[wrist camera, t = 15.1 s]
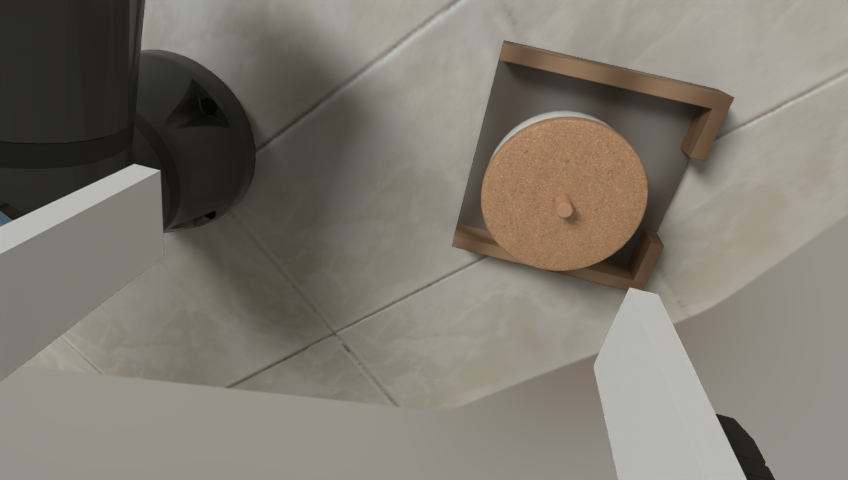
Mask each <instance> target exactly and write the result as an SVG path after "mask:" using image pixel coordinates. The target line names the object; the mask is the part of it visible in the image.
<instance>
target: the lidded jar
mask: <svg viewBox="0 0 848 480" xmlns="http://www.w3.org/2000/svg"><path fill="white" fill-rule="evenodd" d="M647 199H648V180H647V176H646V172H645V168H644V166H643V164H642V161H641V159H640V157H639V156H638V154H637V153H636V151H635V150H634V148H633V147H632V146H631V144H630V143H629V142H628V141H627V140H626V139H625V138H624V137H623V136H622V135H620V134H619V133H617V132H616V131H615V130H614V129H613V128H612V127H610V126H609V125H607V124H606V123H605V122H603V121H601V120H599V119H597V118H595V117H592V116H590V115H587V114H584V113H580V112H573V111H553V112H548V113H543V114H540V115H537V116H534V117H531V118H530V119H528V120H526V121H524V122H522V123H520V124H519V125H518V126H516V127H515V128H514V129H512V130H511V131H510V132H509V133H508V134H507V135H506V136H505V137H504V138H503V140H502V141H501V142H500V144H499V145H498V146H497V148H496V149H495V151H494V153H493V155H492V157H491V159H490V162H489V165H488V167H487V169H486V173H485V176H484V179H483V183H482V190H481V208H482V214H483V218H484V221H485V224H486V226H487V229H488V230H489V232H490V234H491V236H492V237H493V239H494V240H495V241H496V242H497V244H498V245H499V246H500V247H501V248H502V249H503V250H504V251H506V252H507V253H508V254H509V255H511V256H512V257H514V258H515V259H517V260H518V261H520V262H523V263H525V264H527V265H529V266H533V267H536V268H540V269H546V270H552V271H566V270H575V269H580V268H584V267H588V266H591V265H593V264H596V263H598V262H600V261H602V260H604V259H606V258H608V257H609V256H611V255H612V254H614V253H615V252H616V251H618V250H619V249H620V248H622V247H623V245H624V244H625V243H626V242H627V241H628V240H629V239H630V238H631V237H632V235H633V234H634V233H635V231H636V230H637V228H638V226H639V224H640V222H641V220H642V218H643V216H644V213H645V209H646V206H647Z"/></svg>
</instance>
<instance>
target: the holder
mask: <svg viewBox="0 0 848 480" xmlns="http://www.w3.org/2000/svg"><path fill="white" fill-rule="evenodd" d="M733 99H734V97H732V96H730V95H728V94H726V93H724V92H722V91H720V90H718V89H714V88H710V87H705V86H701V85H696V84H692V83H688V82H683V81H679V80H675V79H670V78H666V77H662V76H657V75H653V74H648V73H644V72H640V71H635V70H631V69H627V68H622V67H618V66H614V65H609V64H605V63H600V62H596V61H592V60H587V59H583V58H579V57H574V56H570V55H566V54H561V53H557V52H552V51H548V50H544V49H539V48H535V47H531V46H526V45H522V44H518V43H513V42H509V41H505V40H504V42H503V46H502V50H501V54H500V58H499V62H498V65H497V69H496V73H495V77H494V81H493V85H492V89H491V93H490V97H489V101H488V105H487V109H486V113H485V117H484V121H483V124H482V128H481V132H480V136H479V140H478V144H477V148H476V152H475V156H474V160H473V164H472V168H471V172H470V176H469V180H468V183H467V187H466V191H465V195H464V199H463V203H462V207H461V211H460V215H459V219H458V223H457V227H456V231H455V235H454V239H453V244H452V247H456V248H460V249H464V250H468V251H472V252H476V253H480V254H484V255H488V256H492V257H496V258H500V259H504V260H508V261H512V262H516V263H520V264H524V265H527V264H525V263H523V262H520V261H518V260H517V259H515V258H514V257H512V256H511V255H509V254H508V253H507V252H506V251H504V250H503V249H502V248H501V247H500V246H499V245H498V244H497V242H496V241H495V240H494V239H493V237H492V236H491V234H490V232H489V230H488V229H487V226H486V224H485V221H484V218H483V214H482V208H481V190H482V183H483V179H484V176H485V173H486V169H487V167H488V165H489V162H490V159H491V157H492V155H493V153H494V151H495V149H496V148H497V146H498V145H499V144H500V142H501V141H502V140H503V138H504V137H505V136H506V135H507V134H508V133H509V132H510V131H511V130H512V129H514V128H515V127H516V126H518V125H519V124H520V123H522V122H524V121H526V120H528V119H530V118H531V117H534V116H537V115H540V114H543V113H548V112H553V111H573V112H580V113H584V114H587V115H590V116H592V117H595V118H597V119H599V120H601V121H603V122H605V123H606V124H607V125H609V126H610V127H612V128H613V129H614V130H615V131H616V132H617V133H619V134H620V135H622V136H623V137H624V138H625V139H626V140H627V141H628V142H629V143H630V144H631V146H632V147H633V148H634V150H635V151H636V153H637V154H638V156H639V157H640V159H641V161H642V164H643V166H644V168H645V172H646V176H647V180H648V199H647V206H646V209H645V213H644V216H643V218H642V220H641V222H640V224H639V226H638V228H637V230H636V231H635V233H634V234H633V235H632V237H631V238H630V239H629V240H628V241H627V242H626V243H625V244H624V245H623V247H622V248H620V249H619V250H618V251H616V252H615V253H614V254H612V255H611V256H609V257H608V258H606V259H604V260H602V261H600V262H598V263H596V264H593V265H591V266H588V267H584V268H580V269H575V270H566V271H552V270H548V271H552V272H556V273H560V274H564V275H568V276H572V277H576V278H580V279H584V280H588V281H592V282H596V283H600V284H605V285H609V286H613V287H617V288H621V289H625V290H629V287H630V288H634V289H638V290H642V291H643V289H644V287H645V285H646V282H647V280H648V278H649V276H650V274H651V272H652V270H653V268H654V266H655V263H656V261H657V259H658V257H659V255H660V253H661V251H662V249H663V247H664V245H663V244H662V242H661V240H660V238H659V237H658V235H657V233H656V231H657V228H658V226H659V224H660V222H661V220H662V217H663V215H664V213H665V211H666V209H667V207H668V204H669V202H670V200H671V198H672V196H673V194H674V191H675V189H676V187H677V185H678V183H679V180H680V178H681V176H682V174H683V172H684V170H685V167H686V165H687V163H688V161H689V159H690V157H691V158H695V159H699V160H703V161H704V160H705V158H706V156H707V154H708V152H709V150H710V147H711V145H712V143H713V141H714V139H715V137H716V135H717V133H718V131H719V129H720V126H721V124H722V122H723V120H724V118H725V116H726V114H727V112H728V110H729V107H730V105H731V103H732V101H733ZM528 266H529V265H528ZM532 267H533V266H532ZM544 270H546V269H544Z"/></svg>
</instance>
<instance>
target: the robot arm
mask: <svg viewBox="0 0 848 480" xmlns="http://www.w3.org/2000/svg"><path fill="white" fill-rule="evenodd" d="M144 7H145V0H0V382H1V381H3V380H4V379H5V378H6V377H8V376H9V375H10V374H12V373H13V372H14V371H15V370H17V369H18V368H19V367H21V366H22V365H23V364H25V363H26V362H27V361H28V360H30V359H31V358H32V357H34V356H35V355H36V354H37V353H39V352H40V351H41V350H43V349H44V348H45V347H47V346H48V345H49V344H50V343H52V342H53V341H54V340H56V339H57V338H58V337H59V336H61V335H62V334H63V333H65V332H66V331H67V330H69V329H70V328H71V327H72V326H74V325H75V324H76V323H78V322H79V321H80V320H81V319H83V318H84V317H85V316H87V315H88V314H89V313H91V312H92V311H93V310H94V309H96V308H97V307H98V306H100V305H101V304H102V303H103V302H105V301H106V300H107V299H109V298H110V297H111V296H113V295H114V294H115V293H116V292H118V291H119V290H120V289H122V288H123V287H124V286H125V285H127V284H128V283H129V282H131V281H132V280H133V279H135V278H136V277H137V276H138V275H140V274H141V273H142V272H144V271H145V270H146V269H147V268H149V267H150V266H151V265H153V264H154V263H155V262H157V261H158V260H159V259H160V258H162V257H163V256H164V240H163V233H167V232H172V231H178V230H183V229H188V228H193V227H198V226H202V225H205V224H207V223H210V222H212V221H214V220H216V219H218V218H219V217H221V216H222V215H223V214H225V213H226V212H227V211H229V210H230V209H231V208H232V207H234V206H235V205H236V204H237V203H238V202H239V201H240V200H241V199H242V197H243V196H244V195H245V193H246V191H247V190H248V188H249V185H250V183H251V180H252V177H253V173H254V168H255V146H254V140H253V135H252V132H251V128H250V125H249V123H248V120H247V118H246V116H245V114H244V112H243V110H242V108H241V106H240V104H239V103H238V101H237V100H236V98H235V97H234V95H233V94H232V93H231V92H230V90H229V89H228V88H227V87H226V86H225V85H224V84H223V83H222V82H221V80H219V79H218V78H217V77H216V76H215V75H214V74H213V73H211V72H210V71H209V70H208V69H206V68H205V67H203V66H202V65H200V64H199V63H197V62H195V61H193V60H191V59H189V58H187V57H185V56H182V55H179V54H176V53H173V52H168V51H163V50H142V51H141V38H142V28H143V18H144ZM594 371H595V375H596V380H597V384H598V389H599V393H600V398H601V403H602V407H603V412H604V417H605V421H606V426H607V430H608V435H609V440H610V444H611V448H612V453H613V458H614V462H615V467H616V472H617V476H618V480H775V479H774V477H773V475H772V473H771V471H770V469H769V468H768V467H767V466H765V463H766V462H765V460H764V459H763V456H762V455H761V453H760V451H759V449H758V447H757V445H756V444H755V442H754V440H753V439H752V438H751V437H750V436H749V434H748V433H747V432H746V431H745V430H744V429H743V428H742V427H741V426H740V425H739V424H738V422H737V421H736V420H735V419H733V418H730V417H726V416H722V415H718V414H715V412H714V410H713V408H712V406H711V404H710V402H709V400H708V397H707V395H706V393H705V391H704V389H703V387H702V385H701V383H700V381H699V379H698V377H697V375H696V372H695V370H694V368H693V366H692V364H691V362H690V360H689V358H688V356H687V354H686V352H685V349H684V347H683V345H682V343H681V341H680V339H679V337H678V335H677V333H676V331H675V329H674V327H673V324H672V322H671V320H670V318H669V316H668V314H667V312H666V310H665V308H664V306H663V304H662V301H661V299H660V297H659V295H658V294H654V293H650V292H646V291H642V290H638V289H634V288H630V287H629V290H628V292H627V294H626V296H625V298H624V301H623V303H622V305H621V307H620V309H619V311H618V314H617V316H616V318H615V320H614V322H613V324H612V327H611V329H610V331H609V333H608V335H607V338H606V340H605V342H604V344H603V346H602V348H601V351H600V353H599V355H598V357H597V359H596V362H595V364H594Z"/></svg>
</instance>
